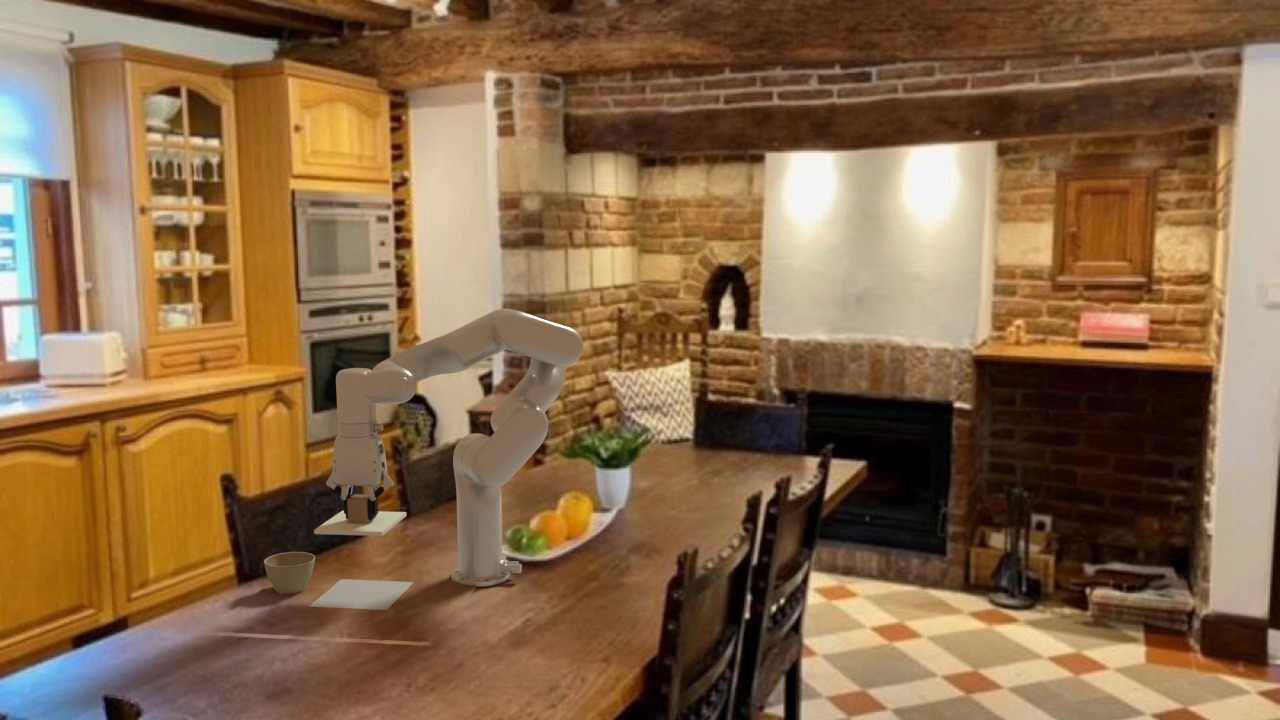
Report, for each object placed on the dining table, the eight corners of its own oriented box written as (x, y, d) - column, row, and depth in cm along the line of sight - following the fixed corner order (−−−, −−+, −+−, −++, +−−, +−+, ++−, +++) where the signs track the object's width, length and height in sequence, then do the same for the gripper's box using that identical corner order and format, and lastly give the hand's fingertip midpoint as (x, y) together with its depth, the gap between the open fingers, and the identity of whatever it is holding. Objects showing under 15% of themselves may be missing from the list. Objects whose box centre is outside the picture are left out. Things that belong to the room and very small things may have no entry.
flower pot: (300, 602, 206) (298, 568, 205) (255, 598, 208) (254, 564, 207) (325, 585, 215) (323, 553, 214) (282, 582, 217) (280, 549, 216)
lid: (406, 515, 213) (405, 488, 212) (382, 535, 199) (381, 507, 198) (342, 514, 214) (341, 487, 214) (314, 533, 201) (312, 505, 200)
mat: (413, 584, 216) (413, 582, 216) (386, 612, 200) (386, 609, 200) (341, 581, 217) (341, 579, 217) (309, 609, 202) (308, 606, 202)
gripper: (404, 426, 207) (407, 513, 209) (325, 425, 209) (329, 511, 211) (391, 434, 200) (394, 524, 202) (309, 432, 201) (314, 522, 204)
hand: (361, 516), depth 207 cm, fingers closed on lid, 4 cm apart
